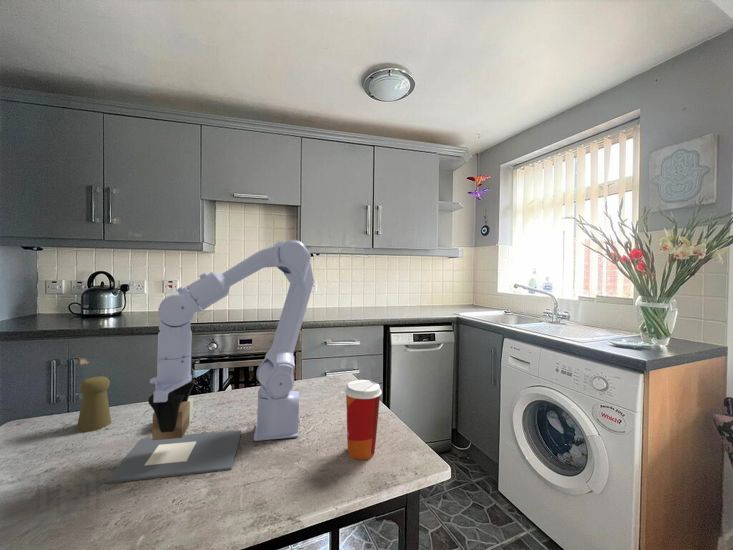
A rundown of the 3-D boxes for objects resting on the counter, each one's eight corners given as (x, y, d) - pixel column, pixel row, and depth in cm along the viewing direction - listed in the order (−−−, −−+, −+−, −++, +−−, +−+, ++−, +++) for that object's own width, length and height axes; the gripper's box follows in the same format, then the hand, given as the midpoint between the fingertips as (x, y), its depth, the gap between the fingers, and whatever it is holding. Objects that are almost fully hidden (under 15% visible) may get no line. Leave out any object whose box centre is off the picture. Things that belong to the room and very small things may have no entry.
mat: (241, 431, 73) (241, 429, 73) (231, 469, 59) (231, 466, 59) (141, 440, 68) (141, 438, 68) (105, 483, 54) (105, 480, 54)
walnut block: (189, 425, 66) (189, 401, 66) (181, 437, 61) (182, 411, 61) (162, 427, 65) (162, 403, 64) (152, 440, 60) (152, 414, 60)
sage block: (193, 417, 79) (193, 397, 79) (186, 427, 74) (187, 406, 74) (170, 419, 78) (170, 399, 77) (162, 429, 73) (163, 407, 73)
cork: (91, 433, 70) (92, 383, 70) (69, 430, 71) (70, 381, 71) (117, 421, 76) (118, 375, 75) (97, 417, 77) (98, 372, 77)
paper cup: (361, 438, 72) (363, 376, 71) (387, 453, 66) (389, 386, 66) (334, 451, 66) (336, 384, 66) (359, 468, 61) (362, 395, 61)
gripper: (165, 347, 69) (163, 409, 69) (134, 367, 55) (132, 445, 55) (201, 346, 70) (199, 407, 71) (180, 365, 56) (177, 442, 57)
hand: (172, 424), depth 63 cm, fingers closed on walnut block, 5 cm apart
